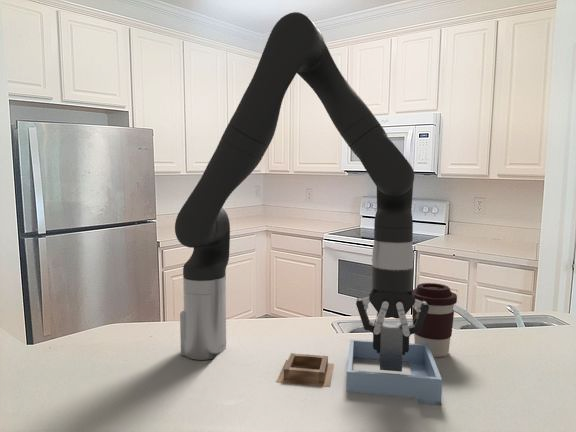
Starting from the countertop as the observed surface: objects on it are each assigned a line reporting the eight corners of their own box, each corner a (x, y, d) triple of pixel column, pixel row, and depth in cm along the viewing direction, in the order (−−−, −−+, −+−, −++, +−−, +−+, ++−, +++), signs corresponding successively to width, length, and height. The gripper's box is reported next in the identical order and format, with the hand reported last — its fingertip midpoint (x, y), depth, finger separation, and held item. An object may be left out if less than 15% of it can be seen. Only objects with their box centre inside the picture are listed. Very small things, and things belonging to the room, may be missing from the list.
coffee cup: (400, 351, 94) (402, 286, 93) (420, 340, 101) (422, 279, 100) (444, 364, 87) (446, 294, 86) (462, 351, 94) (464, 286, 93)
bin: (346, 396, 74) (346, 371, 74) (349, 359, 90) (350, 339, 89) (441, 405, 71) (442, 379, 71) (427, 365, 87) (428, 344, 86)
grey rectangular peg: (380, 369, 78) (380, 328, 78) (379, 361, 82) (380, 321, 82) (401, 371, 78) (402, 329, 77) (400, 362, 82) (401, 322, 81)
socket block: (276, 387, 77) (276, 371, 77) (286, 364, 87) (286, 350, 87) (330, 392, 75) (330, 376, 75) (334, 368, 85) (334, 354, 85)
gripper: (353, 266, 76) (352, 357, 78) (435, 269, 74) (432, 363, 75) (354, 259, 84) (353, 342, 85) (428, 262, 81) (426, 348, 82)
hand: (390, 352), depth 80 cm, fingers closed on grey rectangular peg, 4 cm apart
